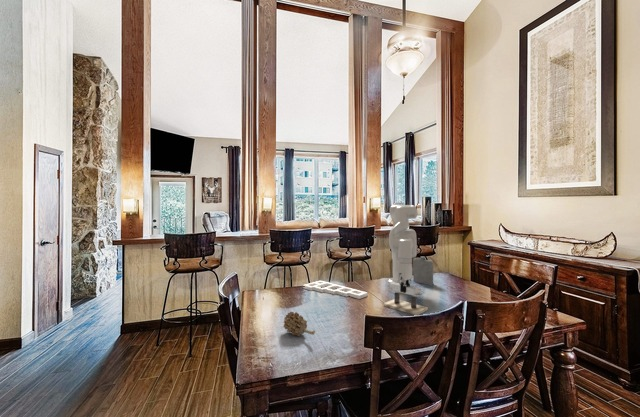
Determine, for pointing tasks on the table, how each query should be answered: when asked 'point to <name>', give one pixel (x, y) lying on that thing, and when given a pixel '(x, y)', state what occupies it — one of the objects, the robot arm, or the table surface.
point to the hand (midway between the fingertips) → (405, 291)
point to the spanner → (409, 289)
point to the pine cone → (296, 324)
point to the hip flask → (423, 271)
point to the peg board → (405, 305)
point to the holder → (339, 290)
